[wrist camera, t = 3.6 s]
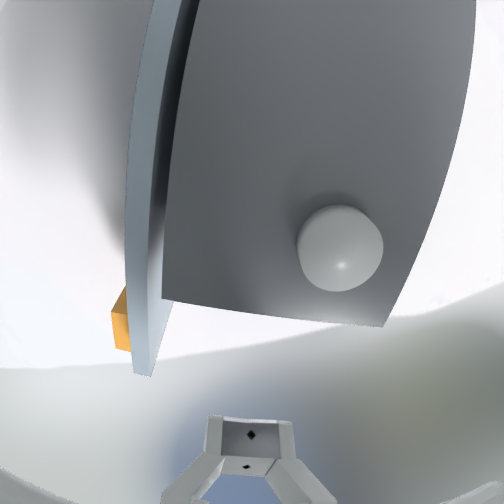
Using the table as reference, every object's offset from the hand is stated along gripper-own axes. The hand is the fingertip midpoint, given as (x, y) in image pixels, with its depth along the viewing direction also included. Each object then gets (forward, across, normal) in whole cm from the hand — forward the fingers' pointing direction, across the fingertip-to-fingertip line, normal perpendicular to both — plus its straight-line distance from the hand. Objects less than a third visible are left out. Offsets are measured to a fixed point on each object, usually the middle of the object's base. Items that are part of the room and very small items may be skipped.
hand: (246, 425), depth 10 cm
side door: (+10, +5, -9) cm, 14 cm away
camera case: (+10, 0, -11) cm, 14 cm away
